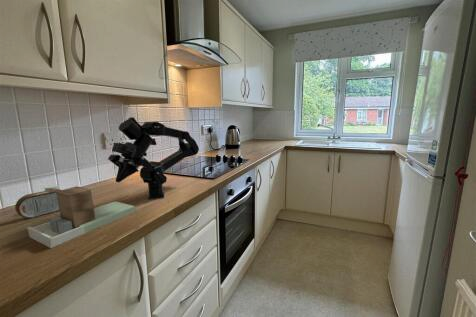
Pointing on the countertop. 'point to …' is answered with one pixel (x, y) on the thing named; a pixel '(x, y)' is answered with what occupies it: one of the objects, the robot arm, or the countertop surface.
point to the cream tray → (53, 234)
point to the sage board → (108, 214)
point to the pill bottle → (51, 187)
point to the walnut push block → (76, 205)
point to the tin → (38, 204)
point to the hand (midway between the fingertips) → (117, 181)
